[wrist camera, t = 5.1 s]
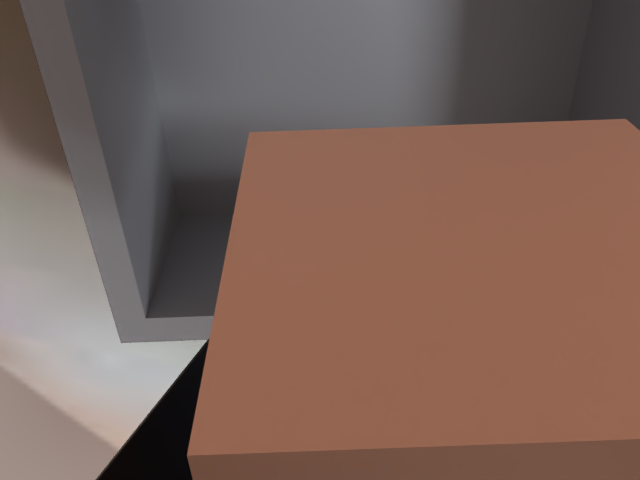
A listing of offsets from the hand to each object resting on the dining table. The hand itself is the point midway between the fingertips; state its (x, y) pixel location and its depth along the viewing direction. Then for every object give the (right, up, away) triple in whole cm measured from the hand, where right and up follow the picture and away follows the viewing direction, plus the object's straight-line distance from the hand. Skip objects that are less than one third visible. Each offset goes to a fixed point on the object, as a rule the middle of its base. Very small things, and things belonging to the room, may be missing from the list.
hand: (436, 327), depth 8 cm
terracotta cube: (0, +1, +1) cm, 1 cm away
